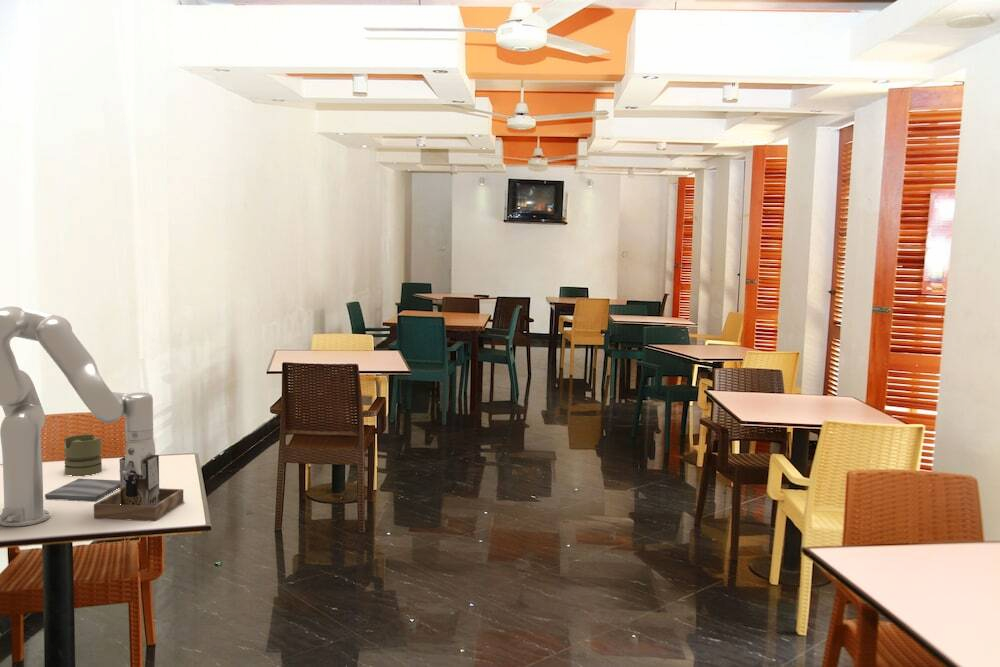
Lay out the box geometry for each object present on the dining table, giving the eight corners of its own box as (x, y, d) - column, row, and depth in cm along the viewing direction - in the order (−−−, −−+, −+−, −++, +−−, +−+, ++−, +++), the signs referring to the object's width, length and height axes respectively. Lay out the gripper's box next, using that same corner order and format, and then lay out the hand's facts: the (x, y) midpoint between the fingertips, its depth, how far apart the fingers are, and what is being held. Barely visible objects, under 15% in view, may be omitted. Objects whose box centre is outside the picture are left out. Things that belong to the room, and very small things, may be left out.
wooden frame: (155, 520, 229) (155, 507, 229) (94, 518, 230) (93, 504, 230) (183, 502, 247) (183, 489, 247) (126, 499, 248) (126, 486, 248)
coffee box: (160, 507, 242) (160, 454, 240) (149, 514, 235) (148, 460, 234) (131, 505, 243) (130, 453, 241) (119, 512, 236) (118, 458, 235)
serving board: (95, 501, 246) (95, 496, 246) (45, 499, 247) (44, 494, 246) (126, 485, 264) (126, 480, 263) (78, 483, 264) (78, 478, 264)
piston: (92, 433, 285) (106, 438, 277) (93, 466, 286) (107, 472, 278) (58, 437, 276) (72, 443, 269) (59, 472, 277) (73, 478, 270)
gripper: (137, 441, 228) (137, 500, 230) (165, 429, 245) (166, 484, 247) (111, 440, 228) (112, 499, 230) (141, 428, 246) (142, 483, 247)
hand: (140, 491), depth 238 cm, fingers open, 9 cm apart
